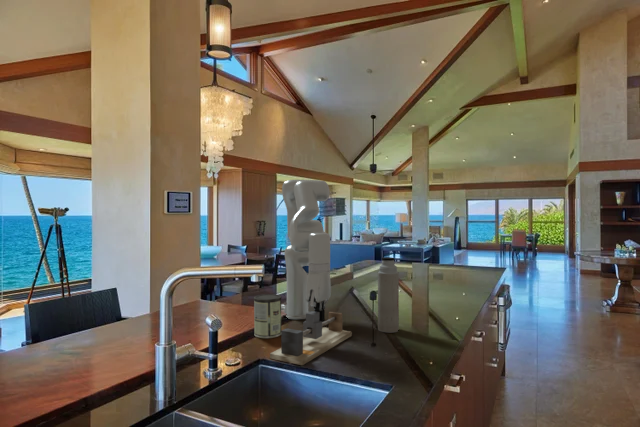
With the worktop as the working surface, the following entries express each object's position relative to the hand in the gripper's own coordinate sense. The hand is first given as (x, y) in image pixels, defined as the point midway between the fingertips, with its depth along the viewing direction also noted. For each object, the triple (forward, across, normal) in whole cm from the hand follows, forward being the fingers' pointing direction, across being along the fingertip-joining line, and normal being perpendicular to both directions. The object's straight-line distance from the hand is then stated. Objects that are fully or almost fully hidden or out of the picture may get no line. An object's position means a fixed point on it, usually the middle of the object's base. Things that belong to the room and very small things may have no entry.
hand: (319, 321), depth 139 cm
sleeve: (+4, +5, 0) cm, 6 cm away
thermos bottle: (+8, -28, +15) cm, 32 cm away
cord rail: (+8, +3, 0) cm, 8 cm away
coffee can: (+8, 0, -22) cm, 23 cm away
